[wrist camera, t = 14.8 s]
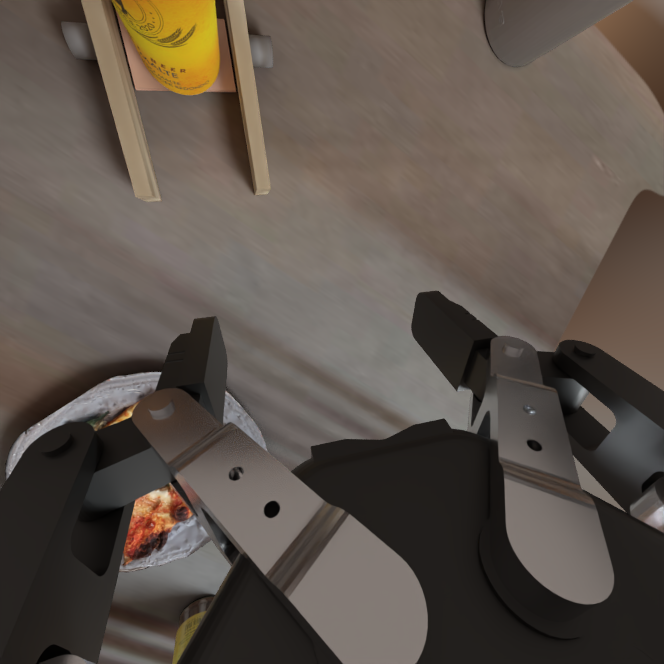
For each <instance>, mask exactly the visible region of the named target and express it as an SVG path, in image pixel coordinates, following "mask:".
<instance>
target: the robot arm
mask: <svg viewBox="0 0 664 664" xmlns="http://www.w3.org/2000/svg"><path fill="white" fill-rule="evenodd" d="M631 1H633V0H486V5H485V26H486V32H487V36H488V39H489V43H490V45H491V47H492V49H493V51H494V53H495V54H496V55H497V57H498V58H499V59H500V60H501V61H502V62H504V63H505V64H507V65H509V66H512V67H521V66H525V65H527V64H529V63H531V62H532V61H534V60H536V59H537V58H539V57H541V56H542V55H544V54H545V53H548V52H549V51H551V50H553V49H554V48H556V47H558V46H559V45H561V44H563V43H564V42H566V41H568V40H569V39H571V38H572V37H574V36H576V35H577V34H579V33H581V32H582V31H584V30H586V29H587V28H589V27H591V26H592V25H594V24H595V23H597V22H598V21H600V20H602V19H604V18H605V17H607V16H608V15H610V14H612V13H613V12H615V11H617V10H618V9H620V8H622V7H623V6H625V5H627V4H628V3H630V2H631ZM411 328H412V334H413V337H414V338H415V340H416V341H417V342H418V343H419V345H420V346H421V347H422V348H423V350H424V351H425V352H426V353H427V355H428V356H429V357H430V358H431V360H432V361H433V362H434V363H435V365H436V366H437V367H438V368H439V370H440V371H441V372H442V373H443V375H444V376H445V377H446V378H447V380H448V381H449V382H450V383H451V385H452V386H453V387H454V388H455V390H456V391H457V392H458V391H463V390H468V389H471V390H472V394H471V397H470V404H469V417H468V429H467V431H464V430H457V429H451V427H450V426H449V424H448V423H447V422H446V420H445V419H440V420H435V421H430V422H425V423H421V424H416V425H413V426H411V427H409V428H407V429H405V430H403V431H401V432H399V433H397V434H395V435H393V436H391V437H389V438H387V439H384V440H362V439H344V440H339V441H335V442H330V443H325V444H320V445H316V446H311V459H309V460H307V461H305V462H303V463H302V464H300V465H299V466H297V467H296V468H295V469H294V470H292V471H291V472H290V471H289V470H288V469H287V468H286V467H284V466H283V465H282V464H281V463H280V462H279V461H277V460H276V459H275V458H274V457H273V456H272V455H271V454H269V453H268V452H267V451H266V450H265V449H264V448H262V447H261V446H260V445H259V444H258V443H257V442H255V441H254V440H253V439H252V438H251V437H250V436H248V435H247V434H246V433H245V432H244V431H243V430H241V429H240V428H239V427H238V426H237V425H235V424H234V423H232V422H229V423H227V424H226V425H225V426H224V425H223V417H224V404H225V391H226V378H227V354H226V349H225V345H224V342H223V338H222V334H221V330H220V326H219V322H218V319H217V317H216V316H214V317H206V318H197V319H194V321H193V324H192V328H191V332H190V333H186V334H180V335H179V336H178V337H177V338H176V339H175V340H174V341H173V342H172V343H171V346H170V349H169V352H168V355H167V358H166V360H165V364H164V366H163V369H162V372H161V375H160V378H159V381H158V384H157V386H156V389H155V392H154V393H152V394H150V395H148V396H147V397H145V398H144V399H142V400H141V401H140V402H139V403H138V404H137V405H136V407H135V408H134V410H133V413H132V416H131V417H129V418H127V419H125V420H123V421H120V422H118V423H115V424H113V425H110V426H107V427H105V428H102V429H100V430H97V431H95V430H94V428H93V427H92V425H90V424H89V423H86V422H71V423H67V424H63V425H61V426H58V427H56V428H53V429H51V430H50V431H48V432H46V433H44V434H43V435H41V436H40V437H39V438H37V439H36V440H35V441H34V442H32V443H31V444H30V445H29V446H28V448H27V449H26V450H25V451H24V453H23V454H22V456H21V458H20V459H19V461H18V462H17V464H16V466H15V467H14V469H13V471H12V472H11V474H10V475H9V477H8V479H7V480H6V482H5V484H4V485H3V487H2V489H1V490H0V664H97V663H98V659H99V654H100V650H101V646H102V641H103V637H104V633H105V629H106V624H107V620H108V616H109V611H110V607H111V603H112V599H113V594H114V590H115V586H116V581H117V577H118V573H119V569H120V564H121V560H122V556H123V551H124V547H125V543H126V539H127V534H128V530H129V526H130V521H131V517H132V513H133V509H134V504H135V500H136V499H138V498H140V497H142V496H144V495H146V494H148V493H150V492H152V491H154V490H156V489H158V488H160V487H162V486H164V485H166V484H168V483H169V484H170V485H171V487H172V488H173V489H174V491H175V492H176V493H177V494H178V496H179V497H180V498H181V500H182V501H183V502H184V503H185V505H186V506H187V507H188V508H189V510H190V511H191V512H192V514H193V515H194V516H195V517H196V519H197V520H198V521H199V523H200V524H201V525H202V527H203V528H204V529H205V531H206V532H207V534H208V535H209V537H210V538H211V540H212V541H213V543H214V544H215V546H216V547H217V548H218V550H219V551H220V552H221V554H222V555H223V556H224V558H225V559H226V560H227V561H228V563H229V564H230V565H231V569H230V571H229V572H228V574H227V576H226V578H225V579H224V581H223V583H222V585H221V586H220V588H219V590H218V592H217V593H216V595H215V597H214V599H213V600H212V602H211V604H210V606H209V607H208V609H207V611H206V613H205V614H204V616H203V618H202V620H201V621H200V623H199V625H198V627H197V628H196V630H195V632H194V634H193V635H192V637H191V639H190V641H189V642H188V644H187V646H186V648H185V649H184V651H183V653H182V655H181V657H180V658H179V660H178V662H177V664H664V391H662V390H661V389H660V388H658V387H657V386H655V385H653V384H652V383H651V382H649V381H648V380H646V379H644V378H643V377H642V376H640V375H639V374H637V373H636V372H634V371H632V370H631V369H630V368H628V367H627V366H625V365H624V364H622V363H621V362H619V361H618V360H616V359H615V358H613V357H611V356H610V355H609V354H607V353H605V352H604V351H603V350H601V349H599V348H598V347H595V346H593V345H591V344H588V343H585V342H582V341H576V340H565V341H562V342H560V344H559V345H558V347H557V349H556V351H555V352H541V351H536V350H535V348H534V347H533V346H532V345H530V344H529V343H527V342H525V341H523V340H521V339H518V338H515V337H510V336H497V335H496V334H495V333H494V332H492V331H491V330H490V329H489V328H488V327H486V326H485V325H484V324H483V323H482V322H480V321H479V320H476V318H475V317H474V316H473V315H472V314H470V313H469V312H468V311H467V310H466V309H465V308H463V307H462V306H460V305H458V304H456V303H454V302H452V301H450V300H448V299H447V298H446V297H445V296H444V295H442V294H441V293H440V292H439V291H430V292H421V293H419V294H418V295H417V297H416V302H415V308H414V314H413V319H412V326H411ZM589 392H590V393H591V394H592V395H593V396H595V397H596V398H597V399H598V400H599V401H601V402H602V403H603V404H604V405H605V406H607V407H608V408H609V409H610V410H611V411H612V412H613V413H614V415H615V418H616V426H615V427H614V428H613V430H612V431H611V432H609V431H608V430H607V429H606V428H605V427H604V426H602V425H601V424H600V423H599V422H598V421H597V420H596V419H595V418H594V417H592V416H591V415H590V414H589V413H588V412H587V411H586V410H585V409H584V408H582V407H581V404H582V402H583V401H584V400H585V398H586V397H587V395H588V394H589ZM573 455H574V457H575V458H576V459H577V460H578V461H579V462H580V463H581V464H582V465H583V466H584V467H585V468H586V469H587V470H588V472H589V473H590V474H591V475H592V476H593V477H594V478H595V479H596V480H597V481H598V482H599V483H600V484H601V486H602V487H603V488H604V489H605V490H606V491H607V492H608V493H609V494H610V495H611V496H612V497H613V498H614V500H615V501H616V502H617V503H618V504H619V505H620V506H621V507H622V508H623V509H624V510H625V511H626V512H627V513H626V512H624V511H622V510H620V509H618V508H617V507H614V506H613V505H611V504H609V503H607V502H605V501H603V500H602V499H600V498H598V497H596V496H594V495H592V494H590V493H589V492H587V491H585V490H583V489H582V488H581V486H580V482H579V478H578V474H577V470H576V466H575V462H574V458H573Z"/></svg>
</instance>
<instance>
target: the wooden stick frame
mask: <svg viewBox="0 0 664 664" xmlns="http://www.w3.org/2000/svg"><path fill="white" fill-rule="evenodd" d="M223 1H224V8H225V14H226V20H227V26H228V32H229V38H230V45H231V51H232V57H233V63H234V69H235V76H236V82H237V88H238V94H239V100H240V107H241V113H242V119H243V125H244V131H245V137H246V144H247V150H248V156H249V162H250V168H251V175H252V181H253V187H254V193H255V195H267V194H268V192H269V191H270V189H271V187H270V180H269V173H268V166H267V159H266V153H265V146H264V139H263V132H262V125H261V118H260V111H259V104H258V98H257V91H256V84H255V77H254V70H253V67H266V68H272V67H273V48H272V41H271V37H270V36H263V35H248V29H247V22H246V15H245V8H244V1H243V0H223ZM81 2H82V5H83V9H84V13H85V16H86V20H87V23H78V22H64V21H62V22H61V27H62V31H63V34H64V37H65V40H66V42H67V45H68V47H69V49H70V51H71V52H72V54H73V56H74V57H75V58H76V59H85V60H98V63H99V67H100V70H101V74H102V77H103V81H104V85H105V88H106V92H107V95H108V99H109V103H110V106H111V110H112V114H113V117H114V121H115V124H116V128H117V132H118V135H119V139H120V142H121V146H122V150H123V153H124V157H125V160H126V164H127V168H128V171H129V175H130V178H131V182H132V186H133V189H134V193H135V196H136V197H137V198H140V199H142V200H144V201H146V202H156V201H162V199H161V195H160V192H159V188H158V184H157V180H156V176H155V172H154V168H153V164H152V160H151V156H150V152H149V148H148V144H147V140H146V136H145V132H144V128H143V124H142V120H141V116H140V113H139V109H138V105H137V101H136V97H135V93H134V89H133V85H132V81H131V77H130V73H129V69H128V65H127V61H126V57H125V53H124V49H123V45H122V41H121V37H120V33H119V30H118V26H117V22H116V18H115V14H114V10H113V6H112V2H111V0H81ZM116 13H117V17H118V21H119V25H120V29H121V33H122V37H123V41H124V45H125V49H126V53H127V57H128V61H129V65H130V69H131V73H132V77H133V81H134V85H135V89H136V90H151V91H171V90H169V89H167V88H166V87H164V86H163V85H162V84H160V83H159V82H158V81H157V80H156V79H155V78H154V77H153V76H152V75H151V73H150V72H149V71H148V69H147V68H146V66H145V64H144V63H143V61H142V59H141V57H140V55H139V53H138V51H137V49H136V47H135V45H134V43H133V41H132V40H131V38H130V36H129V34H128V32H127V30H126V28H125V26H124V24H123V22H122V20H121V18H120V16H119V14H118V12H117V11H116ZM217 29H218V40H219V52H220V69H219V73H218V76H217V78H216V80H215V82H214V83H213V85H212V86H211V87H210V88H209V89H208V90H206V91H205V92H236V88H235V82H234V76H233V70H232V64H231V58H230V52H229V45H228V39H227V33H226V27H225V21H224V19H217Z"/></svg>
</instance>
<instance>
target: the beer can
mask: <svg viewBox="0 0 664 664" xmlns="http://www.w3.org/2000/svg"><path fill="white" fill-rule="evenodd" d="M111 1H112V3H113V5H114V7H115V9H116V11H117V12H118V14H119V16H120V18H121V20H122V22H123V24H124V26H125V28H126V30H127V32H128V34H129V36H130V38H131V40H132V41H133V43H134V45H135V47H136V49H137V51H138V53H139V55H140V57H141V59H142V61H143V63H144V64H145V66H146V68H147V69H148V71H149V72H150V73H151V75H152V76H153V77H154V78H155V79H156V80H157V81H158V82H159V83H160V84H162V85H163V86H164V87H166V88H167V89H169V90H171V91H173V92H176V93H179V94H183V95H196V94H200V93H203V92H205V91H206V90H208V89H209V88H210V87H211V86H212V85H213V83H214V82H215V80H216V78H217V76H218V73H219V69H220V52H219V40H218V29H217V18H216V6H215V0H111Z"/></svg>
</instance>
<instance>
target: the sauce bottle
mask: <svg viewBox="0 0 664 664" xmlns="http://www.w3.org/2000/svg"><path fill="white" fill-rule="evenodd" d="M213 599H214V597H212V596H211V597H205V598H202V599H199V600H197V601H195V602H193V603H192V604H190V605H189V606H188V607H187V608H186V609H185V610H184V611H183V612H182V614H181V616H180V619H179V629H178V631H177V634H176V640H175V648H174V655H173V663H172V664H177V662H178V660H179V658H180V657H181V655H182V653H183V651H184V649H185V648H186V646H187V644H188V642H189V641H190V639H191V637H192V635H193V634H194V632H195V630H196V628H197V627H198V625H199V623H200V621H201V620H202V618H203V616H204V614H205V613H206V611H207V609H208V607H209V606H210V604H211V602H212V600H213Z"/></svg>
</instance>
